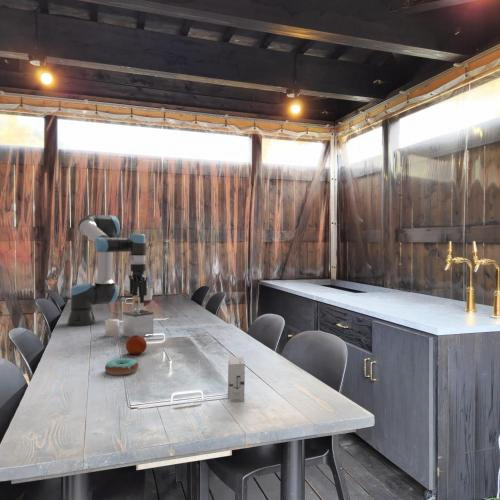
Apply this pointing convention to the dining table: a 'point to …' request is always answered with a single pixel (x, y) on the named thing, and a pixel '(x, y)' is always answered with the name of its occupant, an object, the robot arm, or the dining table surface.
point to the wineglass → (147, 297)
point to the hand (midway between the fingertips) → (138, 308)
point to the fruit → (136, 345)
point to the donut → (121, 366)
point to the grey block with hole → (137, 323)
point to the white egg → (111, 327)
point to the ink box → (236, 379)
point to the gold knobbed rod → (136, 302)
